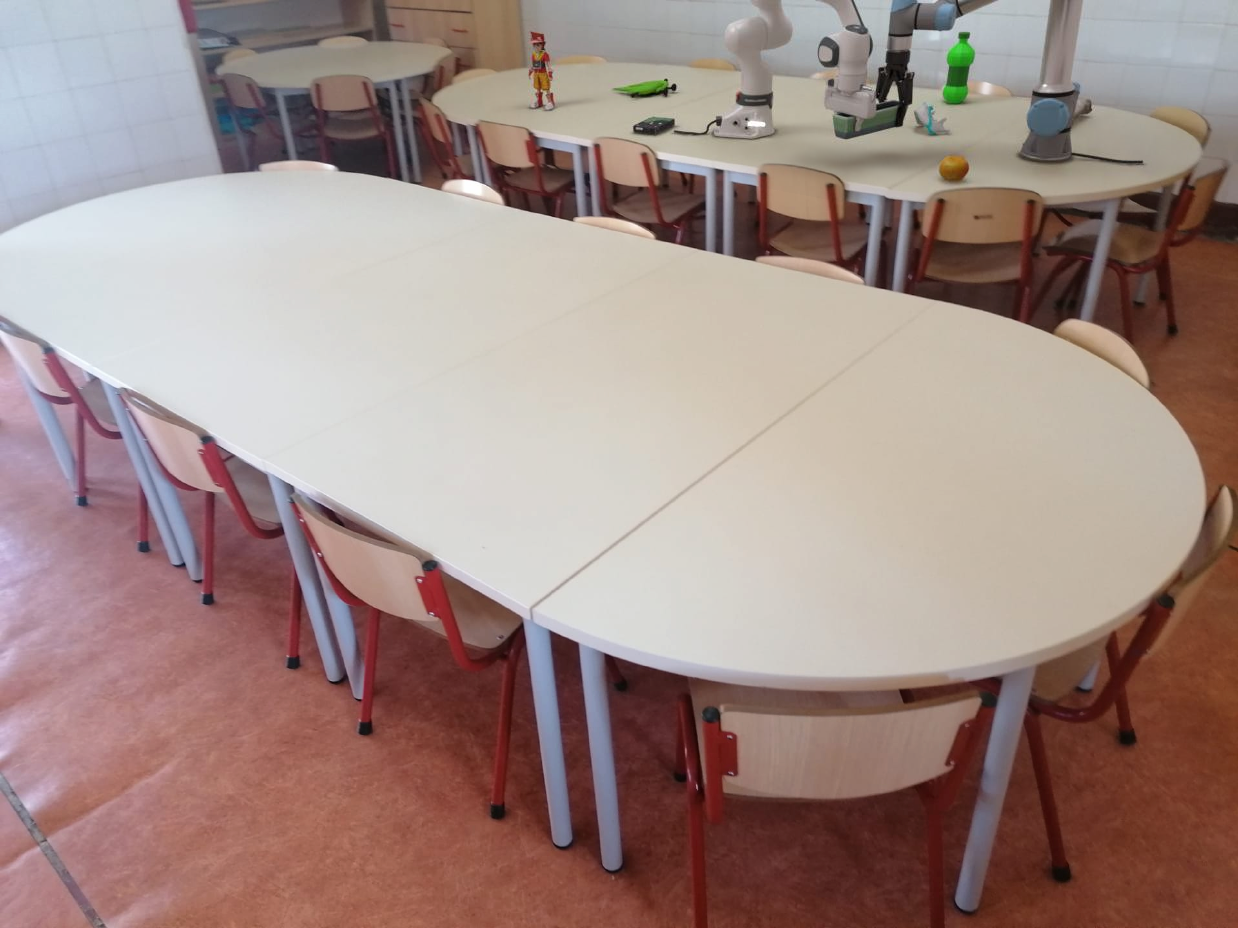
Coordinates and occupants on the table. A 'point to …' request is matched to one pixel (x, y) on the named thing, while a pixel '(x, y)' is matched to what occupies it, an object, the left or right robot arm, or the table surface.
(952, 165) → the fruit
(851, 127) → the planter
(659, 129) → the disk drive
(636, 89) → the toy
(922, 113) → the anatomical model
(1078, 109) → the rolled mat
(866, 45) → the left robot arm
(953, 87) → the plastic bottle
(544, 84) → the toy
